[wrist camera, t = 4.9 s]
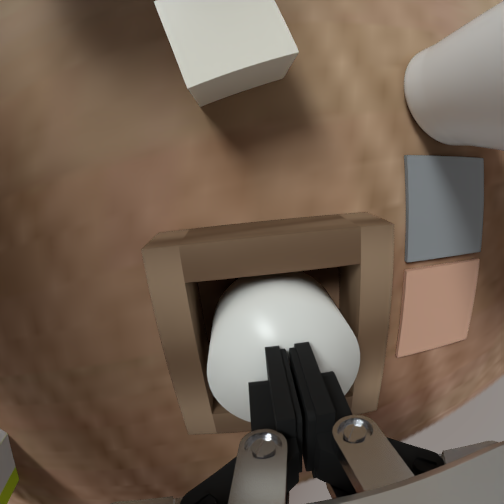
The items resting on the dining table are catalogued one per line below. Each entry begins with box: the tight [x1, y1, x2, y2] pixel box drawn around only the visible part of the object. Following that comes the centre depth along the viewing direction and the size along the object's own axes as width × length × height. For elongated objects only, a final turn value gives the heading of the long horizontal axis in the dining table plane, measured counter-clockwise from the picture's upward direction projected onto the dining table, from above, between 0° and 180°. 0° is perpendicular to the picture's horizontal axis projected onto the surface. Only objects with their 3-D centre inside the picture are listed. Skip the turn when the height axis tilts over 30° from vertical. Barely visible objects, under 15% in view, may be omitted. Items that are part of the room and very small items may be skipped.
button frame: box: [141, 212, 394, 434], centre depth 15 cm, size 10×10×3 cm
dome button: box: [207, 271, 360, 422], centre depth 14 cm, size 6×6×4 cm
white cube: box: [154, 0, 299, 107], centre depth 11 cm, size 4×4×4 cm
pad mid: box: [404, 155, 484, 262], centre depth 15 cm, size 6×6×1 cm
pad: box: [395, 258, 480, 358], centre depth 17 cm, size 6×6×1 cm
